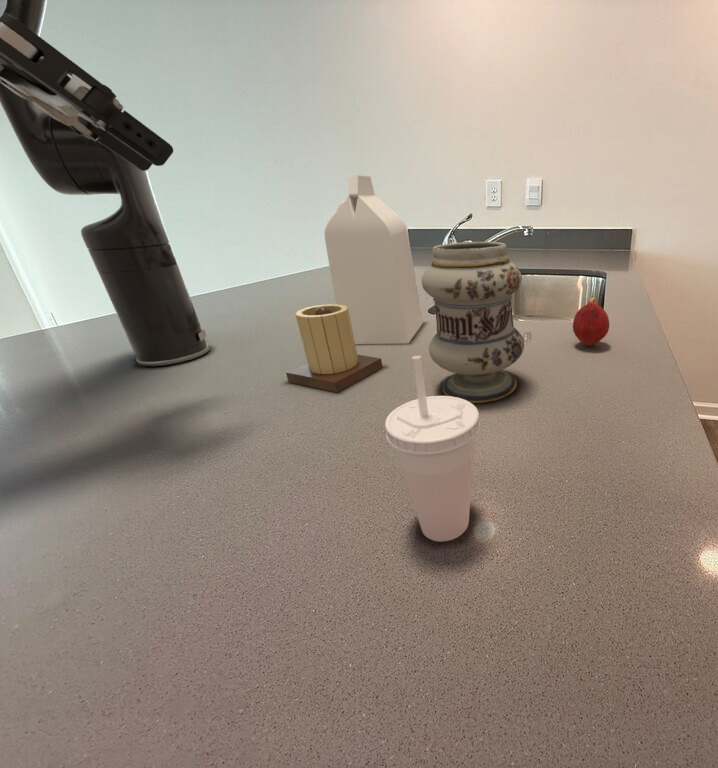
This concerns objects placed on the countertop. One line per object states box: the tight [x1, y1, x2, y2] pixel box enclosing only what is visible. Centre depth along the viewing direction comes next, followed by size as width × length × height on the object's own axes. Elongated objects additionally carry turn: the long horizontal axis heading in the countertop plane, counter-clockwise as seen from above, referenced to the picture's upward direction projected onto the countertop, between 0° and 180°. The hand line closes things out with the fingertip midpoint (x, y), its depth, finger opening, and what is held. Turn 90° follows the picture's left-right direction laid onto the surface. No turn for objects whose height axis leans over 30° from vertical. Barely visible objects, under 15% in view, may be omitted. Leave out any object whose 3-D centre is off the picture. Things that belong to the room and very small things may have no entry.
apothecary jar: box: [421, 241, 525, 404], centre depth 50 cm, size 12×12×18 cm
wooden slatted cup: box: [294, 303, 358, 374], centre depth 56 cm, size 6×6×8 cm
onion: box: [572, 297, 610, 347], centre depth 65 cm, size 6×6×8 cm
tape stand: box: [285, 306, 384, 393], centre depth 56 cm, size 9×9×10 cm
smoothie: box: [384, 355, 481, 542], centre depth 29 cm, size 6×6×14 cm
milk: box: [324, 175, 424, 345], centre depth 70 cm, size 12×12×26 cm
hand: (159, 161), depth 39 cm, fingers open, 8 cm apart
